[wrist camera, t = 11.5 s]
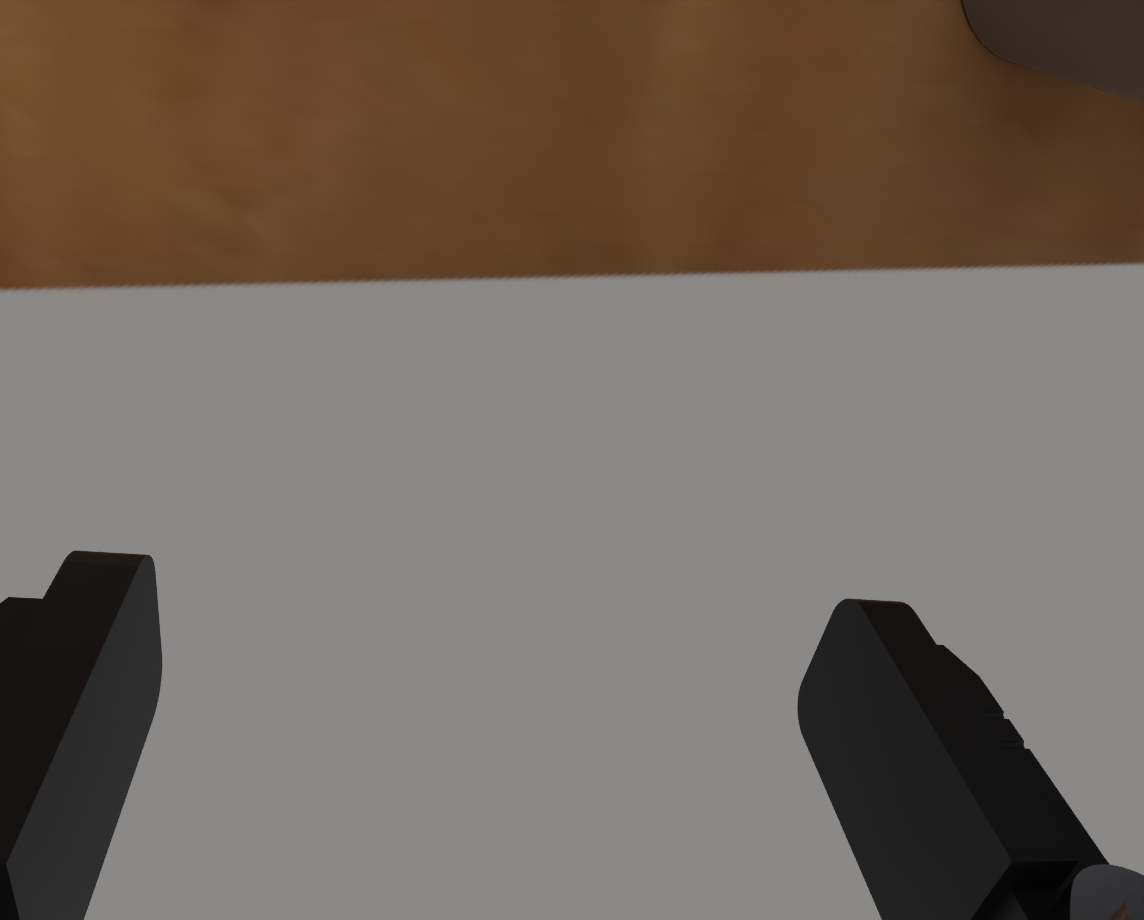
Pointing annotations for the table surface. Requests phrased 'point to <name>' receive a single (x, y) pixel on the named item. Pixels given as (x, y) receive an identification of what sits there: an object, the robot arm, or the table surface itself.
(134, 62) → the table surface
